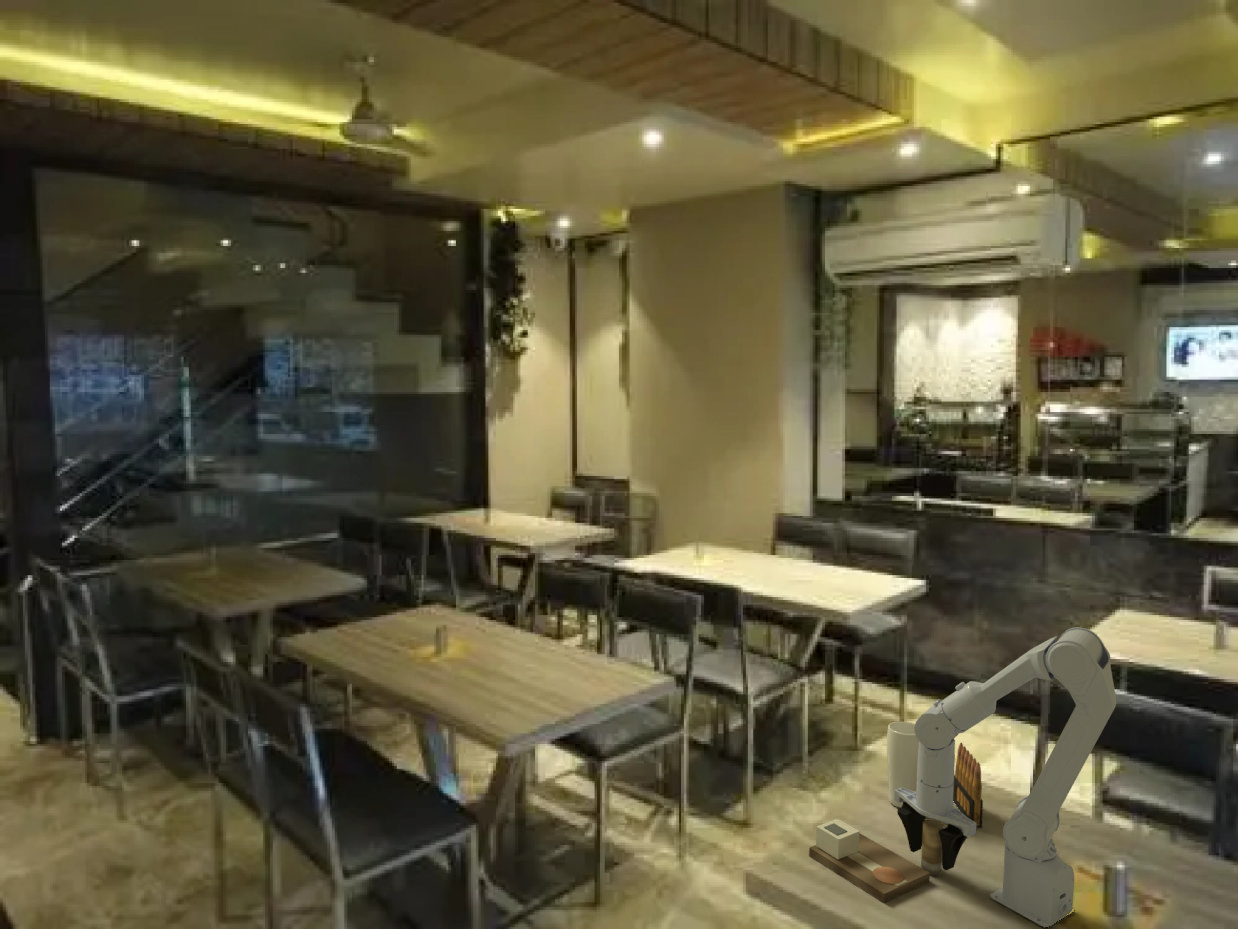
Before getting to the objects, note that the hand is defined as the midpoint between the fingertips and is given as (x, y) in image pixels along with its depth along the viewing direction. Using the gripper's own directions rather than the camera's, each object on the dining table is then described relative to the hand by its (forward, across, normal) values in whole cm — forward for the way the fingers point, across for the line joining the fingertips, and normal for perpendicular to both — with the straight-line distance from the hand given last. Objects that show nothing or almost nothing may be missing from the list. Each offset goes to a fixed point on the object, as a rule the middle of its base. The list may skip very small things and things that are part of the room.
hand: (931, 858), depth 146 cm
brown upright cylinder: (+2, 0, 0) cm, 2 cm away
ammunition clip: (+2, +9, -22) cm, 24 cm away
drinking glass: (+2, +18, -15) cm, 24 cm away
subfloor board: (+2, +6, +8) cm, 11 cm away
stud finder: (0, +11, +10) cm, 15 cm away
